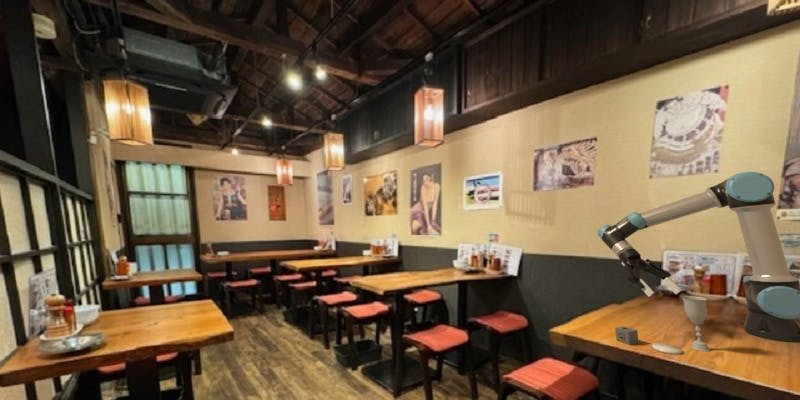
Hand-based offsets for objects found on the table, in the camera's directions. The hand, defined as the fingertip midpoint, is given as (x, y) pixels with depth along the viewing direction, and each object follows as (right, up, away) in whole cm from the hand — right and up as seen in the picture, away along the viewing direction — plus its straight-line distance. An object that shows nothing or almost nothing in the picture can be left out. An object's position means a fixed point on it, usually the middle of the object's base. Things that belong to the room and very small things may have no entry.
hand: (665, 293), depth 119 cm
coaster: (-10, -17, -12) cm, 23 cm away
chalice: (+3, -17, -11) cm, 20 cm away
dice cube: (-18, -18, -3) cm, 26 cm away
